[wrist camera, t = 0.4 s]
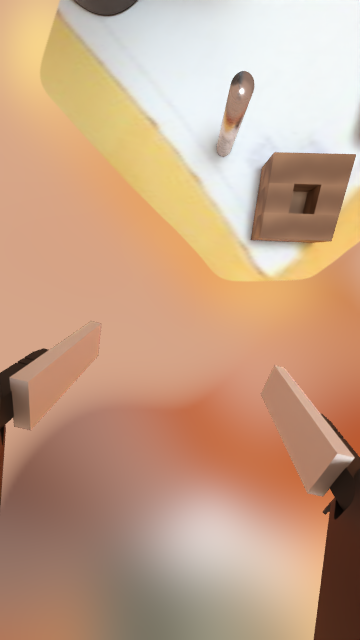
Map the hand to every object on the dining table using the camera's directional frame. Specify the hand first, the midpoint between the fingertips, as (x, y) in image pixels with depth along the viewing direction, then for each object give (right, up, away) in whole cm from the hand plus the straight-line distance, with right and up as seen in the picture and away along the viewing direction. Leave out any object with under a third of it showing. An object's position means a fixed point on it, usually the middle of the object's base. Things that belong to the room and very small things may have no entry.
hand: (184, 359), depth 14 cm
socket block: (+18, +22, +19) cm, 35 cm away
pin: (+7, +31, +17) cm, 36 cm away
